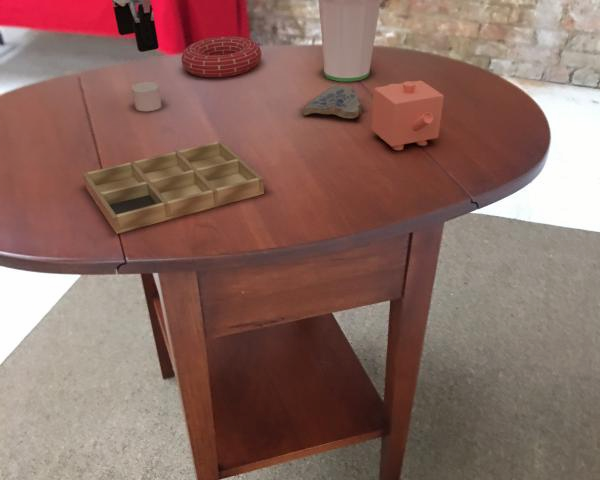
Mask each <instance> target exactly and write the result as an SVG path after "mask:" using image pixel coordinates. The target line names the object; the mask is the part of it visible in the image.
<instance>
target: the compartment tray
mask: <svg viewBox="0 0 600 480" xmlns="http://www.w3.org/2000/svg"><path fill="white" fill-rule="evenodd" d="M82 176H83V179H84V184H85V187H86V190H87V191H88V193H89V194H90V196H91V197H92V199H93V200H94V202H95V204H96V205H97V206H98V208H99V210H100V211H101V212H102V214H103V216H104V218H105V219H106V220H107V221H108V223H109V225H110V226H111V228H112V229H113V231H114V232H115V234H116V235H118V234H122V233H125V232H129V231H133V230H137V229H141V228H143V227H148V226H151V225H155V224H159V223H162V222H167V221H169V220H174V219H177V218H181V217H185V216H188V215H191V214H195V213H199V212H202V211H206V210H210V209H214V208H217V207H221V206H225V205H228V204H232V203H235V202H240V201H243V200H247V199H251V198H255V197H258V196H261V195H262V196H263V195H264V194H265V188H264V178H263V177H262V176H261V175H260V174H259V173H257V171H256V170H254V169H253V168H252V167H251V166H250V165H249V164H248V163H247V162H245V161H244V159H242V158H241V157H240V156H239V155H238V154H236V152H235V151H233V150H232V149H231V148H230V147H229V146H228V145H227V144H226V143H225V142H223V141H222V140H219V141H214V142H211V143H205V144H202V145H196V146H193V147H189V148H185V149H179V150H177V151H172V152H169V153H163V154H160V155H156V156H151V157H147V158H143V159H139V160H135V161H130V162H126V163H122V164H118V165H113V166H108V167H104V168H101V169H97V170H91V171H87V172H83V173H82Z"/></svg>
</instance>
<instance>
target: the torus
mask: <svg viewBox="0 0 600 480" xmlns="http://www.w3.org/2000/svg"><path fill="white" fill-rule="evenodd" d="M261 59H262V50H261V47H260V46H259V44H258V43H256V42H255V41H254V40H252V39H249V38H246V37H242V36H216V37H209V38H204V39H201V40H198V41H195V42H193V43H191V44H190V45H188V46H187V47H186V48H185V49H184V50H183V52H182V55H181V65H182V66H183V68H184V69H185V70H186V71H187V72H188V73H190V74H191V75H195V76H198V77H203V78H228V77H234V76H237V75H241V74H244V73H247V72H249V71H251V70H252V69H254V68H255V67H256V66H257V65H258V64H259V63H260V61H261Z"/></svg>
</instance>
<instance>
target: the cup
mask: <svg viewBox="0 0 600 480" xmlns="http://www.w3.org/2000/svg"><path fill="white" fill-rule="evenodd" d="M380 7H381V0H318V9H319V21H320V32H321V33H320V34H321V46H322V57H323V75H324V76H325V77H326V79H329V80H331V81H334V82H342V83H344V82H345V83H351V82H359V81H362V80H365V79H366V78H368V77H369V76H370V71H371V64H372V57H373V52H374V46H375V39H376V32H377V26H378V20H379V14H380Z"/></svg>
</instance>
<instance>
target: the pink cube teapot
mask: <svg viewBox="0 0 600 480" xmlns="http://www.w3.org/2000/svg"><path fill="white" fill-rule="evenodd" d="M444 99H445V96H444V94H442V93H441V92H439V91H438V90H436V89H435V88H433V87H432V86H431V85H429V84H427V83H426V82H424V81H423V80H420V79H419V80H413V81H411V80H408V81H403V82H402V83H401V82H400V83H389V84H386V85H384V86H383V85H382V86H377V87H374V88H373V98H372V114H371V131H372V132H374V134H375V135H377V136H378V137H379V138H380V139H381V140H383V141H384V142H385V143H386V144H388V145H389V146H390V147H391V148H392V149H393V150H395V151H401V150H404V147H405V145H407V144H412V143H415V144H416V145H417V146H422V147H423V146H426V145H428V141H429V140H433V139H438V138H439V134H440V128H441V121H442V113H443V106H444Z"/></svg>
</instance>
